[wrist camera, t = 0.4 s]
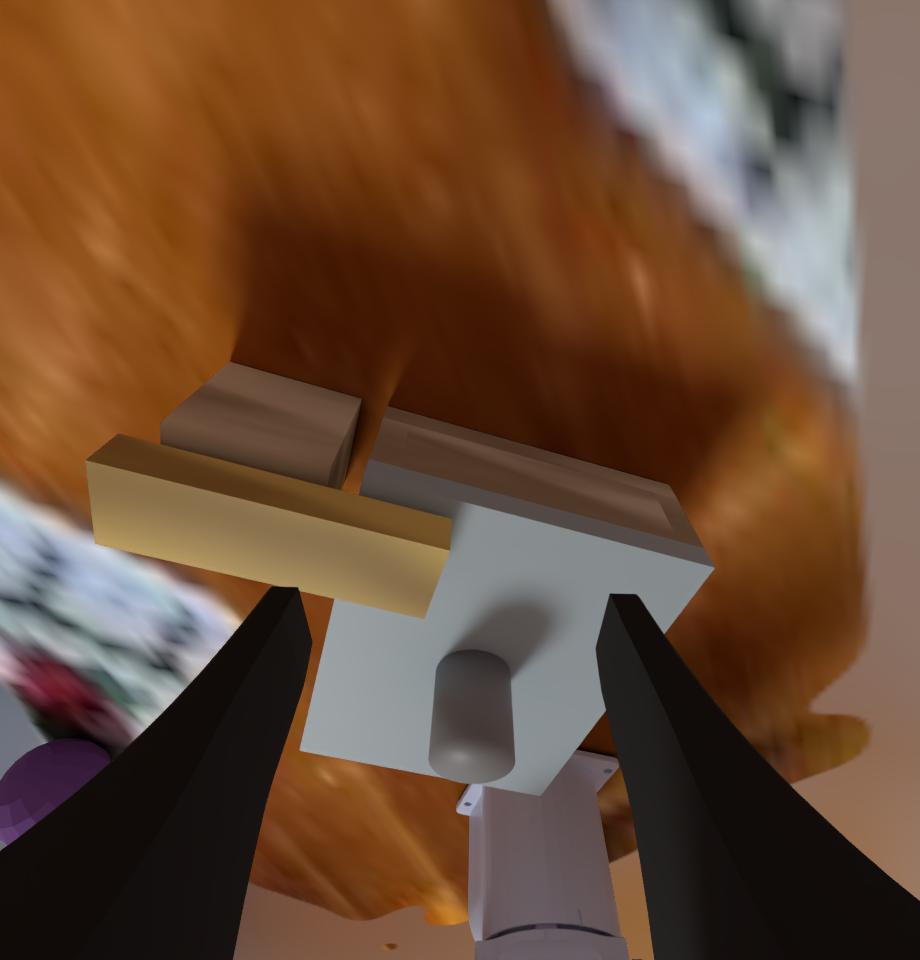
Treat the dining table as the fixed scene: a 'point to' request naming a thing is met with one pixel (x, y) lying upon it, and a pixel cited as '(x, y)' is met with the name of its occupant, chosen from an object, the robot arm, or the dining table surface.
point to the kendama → (45, 782)
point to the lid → (489, 639)
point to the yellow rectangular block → (265, 526)
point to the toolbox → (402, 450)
